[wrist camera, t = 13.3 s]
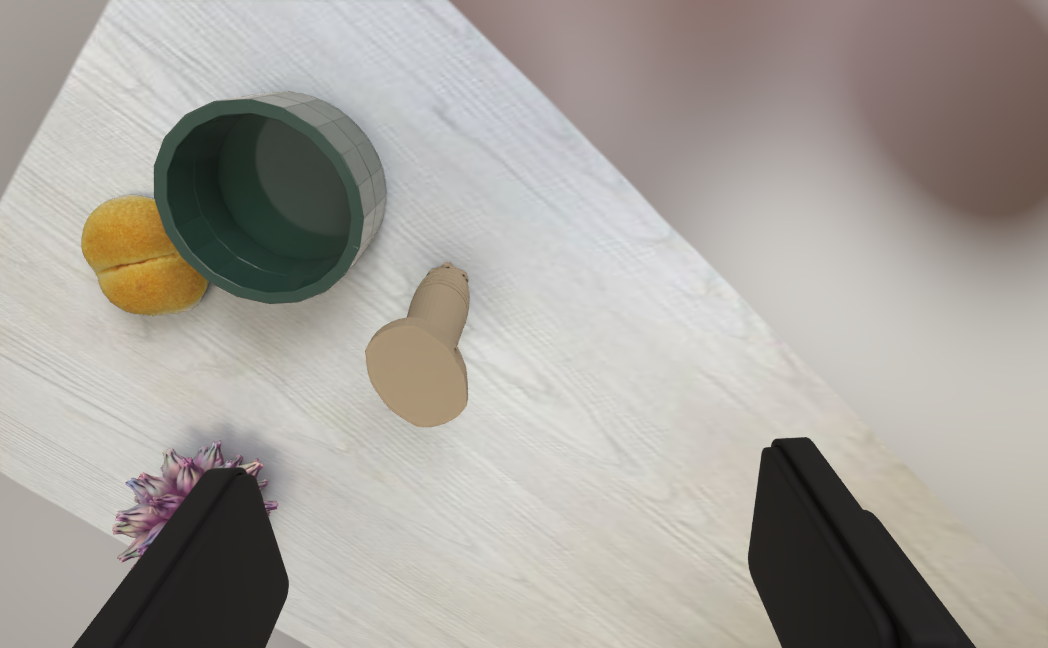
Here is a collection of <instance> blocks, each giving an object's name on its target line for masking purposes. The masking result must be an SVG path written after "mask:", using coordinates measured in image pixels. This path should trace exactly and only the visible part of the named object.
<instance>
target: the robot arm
mask: <svg viewBox="0 0 1048 648" xmlns="http://www.w3.org/2000/svg"><path fill="white" fill-rule="evenodd" d="M748 564H749V570H750V574H751V577H752V579H753V582H754V584H755V586H756V588H757V591H758V593H759V595H760V598H761V600H762V602H763V605H764V607H765V609H766V611H767V614H768V616H769V618H770V621H771V623H772V625H773V628H774V630H775V632H776V634H777V637H778V639H779V641H780V644H781V646H782V648H976V647H975V646H974V644H973V643H972V642H971V640H970V639H969V638H968V636H967V635H966V634H965V632H964V631H963V630H962V628H961V627H960V626H959V625H958V623H957V622H956V621H955V619H954V618H953V617H952V615H951V614H950V613H949V611H948V610H947V609H946V607H945V606H944V605H943V603H942V602H941V601H940V599H939V598H938V597H937V596H936V594H935V593H934V592H933V590H932V589H931V588H930V586H929V585H928V584H927V582H926V581H925V580H924V578H923V577H922V576H921V574H920V573H919V572H918V571H917V569H916V568H915V567H914V565H913V564H912V563H911V561H910V560H909V559H908V557H907V556H906V555H905V553H904V552H903V551H902V549H901V548H900V547H899V545H898V544H897V543H896V542H895V540H894V539H893V538H892V536H891V535H890V534H889V532H888V531H887V530H886V528H885V527H884V526H883V524H882V523H881V522H880V520H879V519H878V518H877V517H876V516H875V515H874V514H873V513H871V512H869V511H867V510H863V509H862V508H861V506H860V505H859V504H858V502H857V501H856V500H855V498H854V497H853V496H852V494H851V493H850V491H849V490H848V489H847V487H846V486H845V485H844V483H843V482H842V481H841V479H840V478H839V477H838V475H837V474H836V473H835V471H834V470H833V469H832V467H831V466H830V464H829V463H828V462H827V460H826V459H825V458H824V456H823V455H822V454H821V452H820V451H819V450H818V448H817V447H816V446H815V444H814V443H813V442H812V441H811V440H810V439H809V438H807V437H801V438H782V439H775V440H773V442H772V444H771V447H766V448H764V449H763V451H762V454H761V462H760V470H759V477H758V485H757V492H756V500H755V507H754V515H753V522H752V530H751V537H750V545H749V553H748ZM288 588H289V580H288V576H287V573H286V570H285V567H284V563H283V560H282V557H281V554H280V551H279V548H278V545H277V542H276V539H275V535H274V532H273V529H272V526H271V523H270V520H269V517H268V514H267V511H266V507H265V504H264V501H263V498H262V495H261V492H260V489H259V486H258V483H257V480H256V478H255V476H254V475H251V474H247V472H246V470H245V469H244V468H242V467H230V468H211V469H209V470H207V471H206V472H205V473H204V474H203V475H202V476H201V478H200V479H199V480H198V482H197V483H196V484H195V486H194V487H193V488H192V490H191V491H190V492H189V494H188V495H187V496H186V498H185V499H184V500H183V502H182V503H181V504H180V506H179V507H178V508H177V510H176V511H175V512H174V514H173V515H172V516H171V517H170V519H169V520H168V521H167V523H166V524H165V525H164V527H163V528H162V529H161V531H160V532H159V533H158V535H157V536H156V537H155V539H154V540H153V541H152V543H151V544H150V545H149V547H148V548H147V549H146V551H145V552H144V553H143V555H142V556H141V557H140V559H139V560H138V561H137V563H136V564H135V565H134V567H133V568H132V569H131V571H130V572H129V573H128V575H127V576H126V577H125V579H124V580H123V581H122V582H121V584H120V585H119V586H118V588H117V589H116V591H115V592H114V593H113V594H112V596H111V597H110V598H109V600H108V601H107V602H106V604H105V605H104V606H103V608H102V609H101V611H100V612H99V613H98V614H97V616H96V617H95V618H94V620H93V621H92V622H91V624H90V625H89V626H88V627H87V629H86V630H85V632H84V633H83V634H82V636H81V637H80V638H79V639H78V641H77V642H76V643H75V645H74V646H73V647H72V648H265V647H266V645H267V642H268V640H269V638H270V635H271V633H272V631H273V629H274V626H275V624H276V622H277V619H278V617H279V615H280V612H281V610H282V608H283V605H284V603H285V601H286V598H287V594H288Z"/></svg>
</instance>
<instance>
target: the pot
mask: <svg viewBox="0 0 1048 648" xmlns="http://www.w3.org/2000/svg"><path fill="white" fill-rule="evenodd" d="M154 199H155V203H156V206H157V209H158V212H159V215H160V219H161V222H162V225H163V228H164V230H165V233H166V234H167V236H168V237H169V239H170V240H171V242H172V243H173V245H174V246H175V248H176V249H177V251H178V252H179V254H180V255H181V257H182V258H183V259H184V260H185V261H186V262H187V263H188V264H189V265H191V266H192V267H193V268H194V269H195V270H196V271H197V272H198V273H200V274H201V275H202V276H203V277H204V278H205V279H206V280H207V281H209V282H210V283H212V284H214V285H216V286H218V287H220V288H222V289H223V290H225V291H227V292H229V293H231V294H233V295H235V296H237V297H238V296H239V297H241V298H246V299H250V300H254V301H259V302H263V303H269V304H277V303H294V302H301V301H303V300H306V299H308V298H311V297H313V296H316V295H318V294H321V293H324V292H325V291H327V290H328V289H329V288H330V287H332V286H333V285H334V284H335V283H336V282H337V281H338V280H340V279H341V278H342V277H343V276H344V275H345V274H346V273H347V272H348V271H349V269H350V268H351V267H352V266H353V264H354V263H355V262H356V261H357V259H358V258H359V257H360V255H361V254H362V253H363V252H364V250H365V249H366V248H367V247H368V245H369V244H370V243H371V241H372V239H373V237H374V235H375V234H376V232H377V230H378V228H379V226H380V224H381V222H382V219H383V215H384V211H385V206H386V182H385V176H384V172H383V168H382V165H381V162H380V160H379V157H378V155H377V153H376V151H375V149H374V147H373V145H372V144H371V142H370V141H369V139H368V137H367V136H366V135H365V133H364V132H363V131H362V130H361V129H360V127H359V126H358V125H357V124H356V123H355V122H354V121H353V120H352V119H350V118H349V117H348V116H347V115H346V114H344V113H343V112H342V111H340V110H339V109H338V108H336V107H334V106H332V105H331V104H329V103H327V102H325V101H323V100H320V99H318V98H315V97H312V96H309V95H305V94H301V93H294V92H290V91H288V92H273V93H260V94H254V95H248V96H242V97H236V98H230V99H224V100H218V101H213V102H211V103H209V104H207V105H205V106H203V107H200V108H198V109H196V110H194V111H192V112H190V113H187V114H186V115H184V117H183V118H182V119H181V120H180V121H179V122H178V123H177V124H176V125H175V126H174V127H173V129H172V130H171V131H170V132H169V133H168V134H167V135H166V136H165V138H164V139H163V142H162V145H161V148H160V151H159V153H158V156H157V159H156V162H155V164H154Z"/></svg>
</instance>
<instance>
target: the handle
mask: <svg viewBox="0 0 1048 648" xmlns="http://www.w3.org/2000/svg"><path fill="white" fill-rule="evenodd" d="M467 283H468V276H467V274H466V272H465V271H464V270H459V269H457V268H455V267H454V266H453V265H452V264H451V263H449V262H445V263H444V264H443V265H442V266H441V267H439V268H432V269H431V270H430V271H429V273H428V274H427V276H426V277H425V278H424V280H423V281H422V282H421V283H420V285H419V286H418V288H417V290H416V292H415V294H414V296H413V299H412V301H411V304H410V308H409V311H408V315H407V318H402V319H398V320H395V321H393V322H390V323H389V324H387V325H385V326H383V327H382V328H381V329H380V330H378V331H377V332H376V333H375V335H374V336H373V337H372V339H371V341H370V343H369V344H368V346H367V348H366V350H365V354H366V363H367V370H368V375H369V378H370V381H371V383H372V385H373V387H374V389H375V390H376V391H377V393H378V394H379V396H380V397H381V399H382V400H383V402H384V403H385V404H386V405H387V406H388V408H389V409H390V410H392V411H393V412H394V413H396V414H397V415H398V416H400V417H402V418H403V419H405V420H406V421H408V422H410V423H411V424H413V425H415V426H417V427H433V426H438V425H441V424H444V423H447V422H449V421H451V420H453V419H454V418H456V417H457V416H458V415H460V414H461V412H462V411H463V410H464V409H465V407H466V405H467V400H468V382H467V372H466V366H465V363H464V360H463V358H462V355H461V353H460V351H459V349H458V347H457V344H458V341H459V339H460V336H461V333H462V331H463V328H464V325H465V323H466V319H467V315H468V310H469V288H468V284H467Z"/></svg>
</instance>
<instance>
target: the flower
mask: <svg viewBox="0 0 1048 648" xmlns="http://www.w3.org/2000/svg"><path fill="white" fill-rule="evenodd" d="M220 447H221V440H220V441H218V442H216V443H215V442H213V443H212V446H211V448H210V449H209V451H208V447H205V446H203V447H200V448H199V451H198V454H197V456H196V457H195V459H194V460H192V458H188V457H186V458H184V457H182V456H180V455H178V454H177V453H176V452H175V451H174V449H173V448H170V449H169V450H166V451H163V455H164V458H165V460H164V465H162V467H161V470H162V472H163V477H153V476H150V475H148V474H146V473H143V474H140V476H139V477H138V479H139V480H138V479H136V478H131V480H130V481H127V482H125V483H126V485H127V486H129V487H130V488H132V489H133V491H134V492H135V495H136V496H135V502H137V503H139V504H138V505H136V506H134V507H132V508H131V509H129V510H126V511H118V512H117V514H116V515H115V516H116V519H115V520H117V521H123V522H121V523H118V524H115V525H113V527H114V528H113V534H125V535H127V536H130V537H132V538H136V539H135V540H134V541H133V542H132V544H131V545H130V546H129V548H128V549H127V550H126V551H125V552H124V553H122V554H121V555H120V556H118V557H117V558H118V559H119V560H121V562H124V561H126V560H128V559H130V558H134V557H139V559H140V557H141V556H142V555H143V553H144V552H145V551H146V549H147V548H148V547H149V545H150V544H151V543H152V541H153V540H154V539H155V537H156V536H157V535H158V533H159V532H160V531H161V529H162V528H163V527H164V525H165V524H166V523H167V521H168V520H169V519H170V517H171V516H172V515H173V514H174V512H175V511H176V510H177V508H178V507H179V506H180V504H181V503H182V502H183V500H184V499H185V498H186V496H187V495H188V494H189V492H190V491H191V490H192V488H193V487H194V486H195V484H196V483H197V482H198V480H199V479H200V478H201V476H202V475H203V474H204V473H205V472H206V471H207V470H209V469H211V468H230V467H242V468H244V469H245V470H246V472H247V474H251V475H254V476H255V478H256V477H257V475H258V472H259V471H260V470H261V469H262V468H263V466H264V464H261V463H260V462H259V461H258V458H257V459H255V460H254V461H253V462H251V463H249V464H245V465H241V466H240V463H241V461H242V459H243V457H241V455H236V457H235V458H234V459H233V460H227V461H226V463H225V464H224V461H223V456H222V453H221V450H220ZM223 464H224V465H223ZM257 483H258V486H259V489H260V490H261V489H262V488H263V487H265V486H266V485H268V481H267V480H266V479H264V480H261V481H257ZM263 501H264V504H265V507H266V511H267V514H268V516H270V515H269V513H270V510H275V509H277V506H278V503H277V501H266V500H263ZM139 559H138V560H139ZM133 567H134V566H133ZM133 567H132V568H133ZM132 568H131V569H132Z"/></svg>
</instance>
